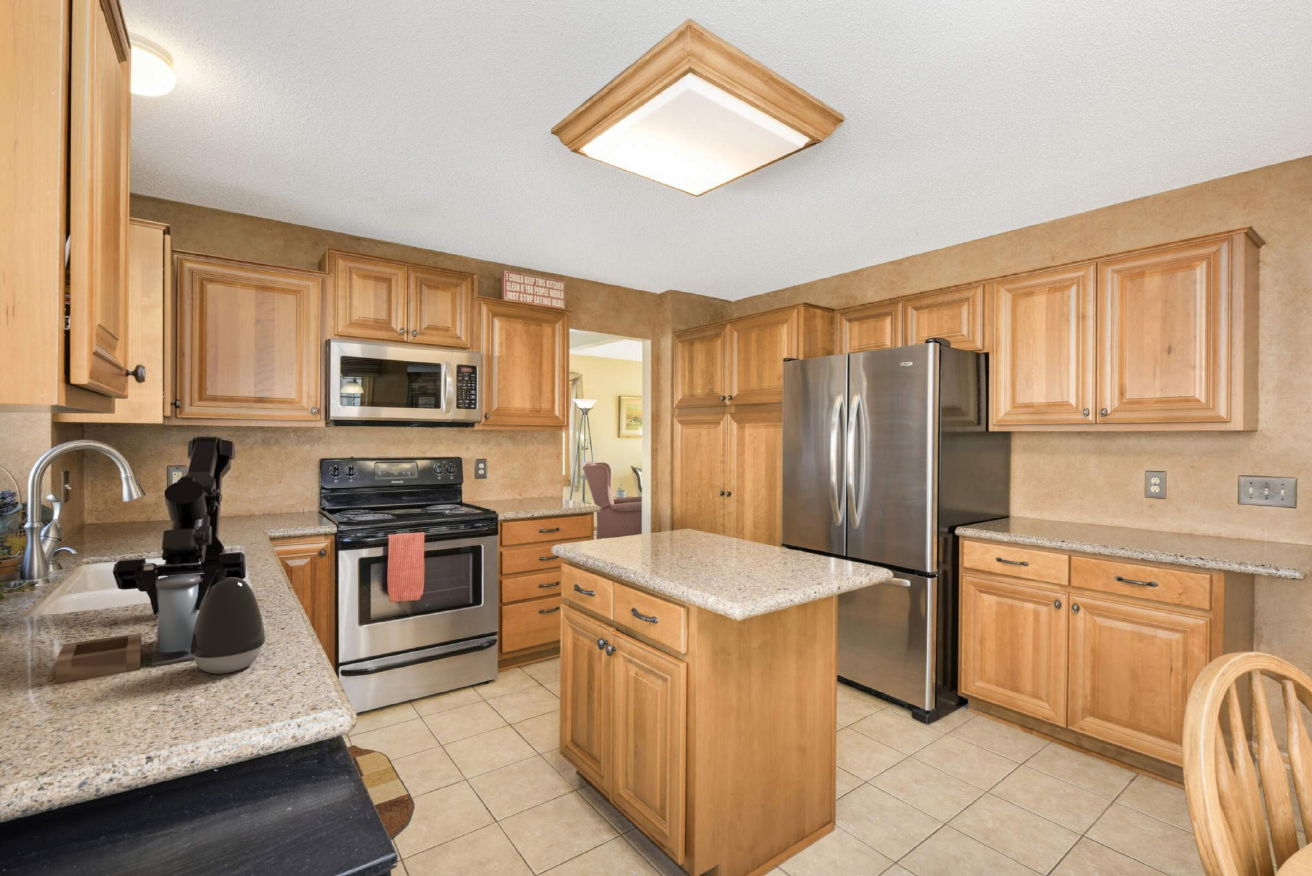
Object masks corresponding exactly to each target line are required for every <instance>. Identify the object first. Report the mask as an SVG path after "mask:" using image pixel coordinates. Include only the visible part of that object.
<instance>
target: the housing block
mask: <svg viewBox="0 0 1312 876" xmlns="http://www.w3.org/2000/svg"><path fill="white" fill-rule="evenodd" d="M141 660H142V633H141V632H140V633H138V632H137V633H133V634H132V633H130V634H126V635H125V634H124V635H119V636H118V635H117V636H113V637H112V636H111V637H106V638H105V637H104V638H97V639H91V640H84V641H76V642H70V643H63V645H62V648H61V649H60V652H59V654H58V656H57V659H56V661H55V664H56V665H55V684H56V685H57V684H63V683H68V682H74V681H79V680H80V681H81V680H86V679H91V678H92V679H93V678H97V677H103V676H108V675H115V674H121V673H126V672H131V671H137V670H138V671H139V670H141Z"/></svg>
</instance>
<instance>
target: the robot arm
mask: <svg viewBox="0 0 1312 876" xmlns="http://www.w3.org/2000/svg"><path fill="white" fill-rule="evenodd" d="M235 456H236V445H235V443H234V442H233V441H231V440H229V439H223V438H222V437H219V436H203V435H202V436H201V435H199V436H197V437H193V439H191V440H189V441H188V442H187V458H188V459H189V460H190V461H189V466H188V469H187V472H186V475H184V476H181V477H180V478H179V479H177V481H176V482H174V483H172V484H170V485H168V487H167V488H166V489H165V490H164V493H163V494H164V501H165V506H166V507H167V509H166V510H167V512H168V517H169V519H170V520H171V521H172V523H171V527H170V528H171V529H166V530H163V532H162V542H161V550H162V554H161V558H162V561H164V563H163V564H161V563H160V564H156V563H155V562H147V561H146V558H145V557H143V558H130V559H129V558H128V559H119V560H118V561H117V562H115V563H114V565H113V569H112V574H113V577H114V580H115V583H116V586H117V588H118V589H119V590H122V591H125V590H135V589H138V591H139V592H143V593H144V592H145V593H146V595H147V597H148V598H149V601H150V604H151V609H152V613H153V615H154V616H155V615H157V616H158V588H156V580H157V579H160V578H159V577H168V576H175V575H186V574H194V575H200V583H198V598H197V606H196V608H197V610H198V611H199V610H200V608H201V605H202V603H203V600H204V598H205V596H206V595H207V593H208V591H209V590H210V588H211V587H212V586H213V585H214V584H215V583H216V582H217V581H219V580H220V579H221V578H222V577H226V578H227V577H237V578H240V579H242V580H244V579H246V576H247V575H246V574H247V563H246V555H245V554H244V552H243V551H233V552H232V551H231V552H227V551H226V549H225V546H224V545H223V543H222V542H221V541H220V539H219V535H220V534H219V532H220V517H221V502H222V501H223V494H222V487H223V486H222V485H223V484H222V483H223V479H224V477H225V475H227V473H228V472H229V471H230V470H231V468H232V461H233V460H235V459H236V457H235Z"/></svg>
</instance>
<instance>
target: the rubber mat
mask: <svg viewBox="0 0 1312 876" xmlns="http://www.w3.org/2000/svg"><path fill="white" fill-rule="evenodd" d="M189 661H195V660H194V657H193V655H192V654H191V648H190V649H187V650H183V651H177V652H159V651H157V652H152V653H151V668H155V667H161V666H167V665H173V664H177V663H184V662H189Z"/></svg>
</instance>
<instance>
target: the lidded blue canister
mask: <svg viewBox="0 0 1312 876" xmlns="http://www.w3.org/2000/svg"><path fill="white" fill-rule="evenodd" d="M198 583H200V575H194V574H186V575H175V576H163V577H160V578H158V579H157V580H156V588H158V613H157V619H158V638H157V637H156V640H157V641H156V642H157V647H156V648H157V649H156V650H157V652H177V651H183V650H187V649H190V648H191V641H192V636H193V631H194V627H195V623H196V620H197V616H198V610H197V608H196V606H197V598H198Z"/></svg>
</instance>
